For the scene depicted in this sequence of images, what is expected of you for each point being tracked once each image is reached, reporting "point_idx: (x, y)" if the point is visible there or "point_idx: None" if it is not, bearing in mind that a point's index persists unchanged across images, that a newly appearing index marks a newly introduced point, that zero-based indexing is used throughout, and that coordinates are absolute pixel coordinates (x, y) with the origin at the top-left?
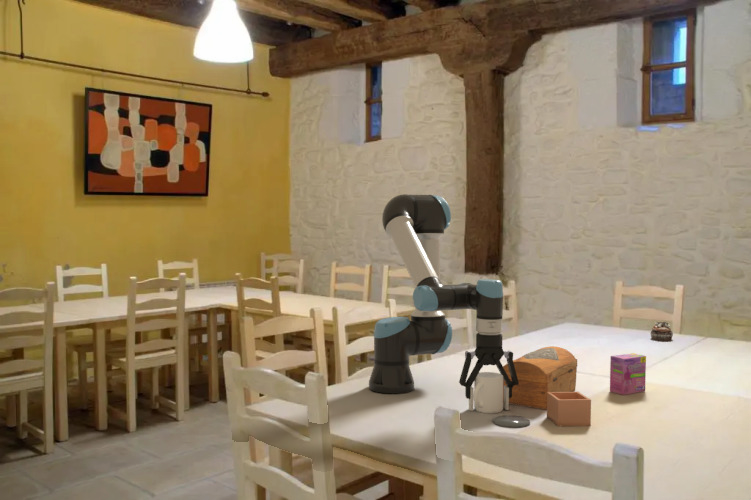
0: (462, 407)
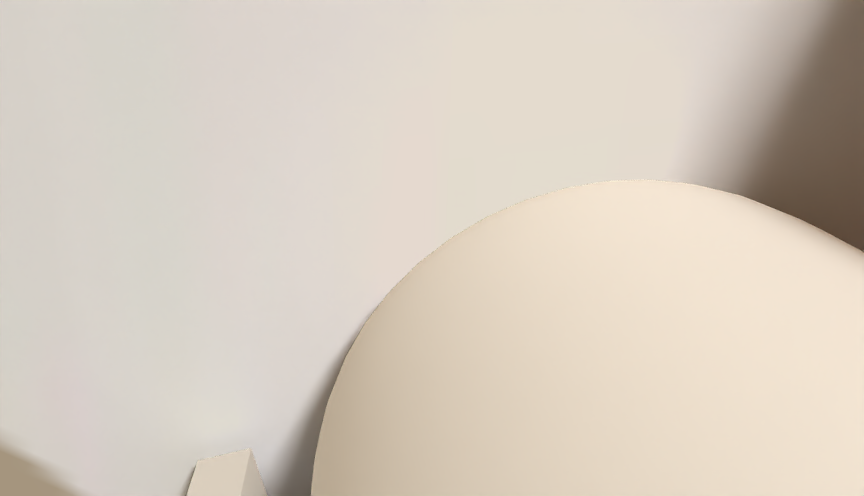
0: (49, 343)
